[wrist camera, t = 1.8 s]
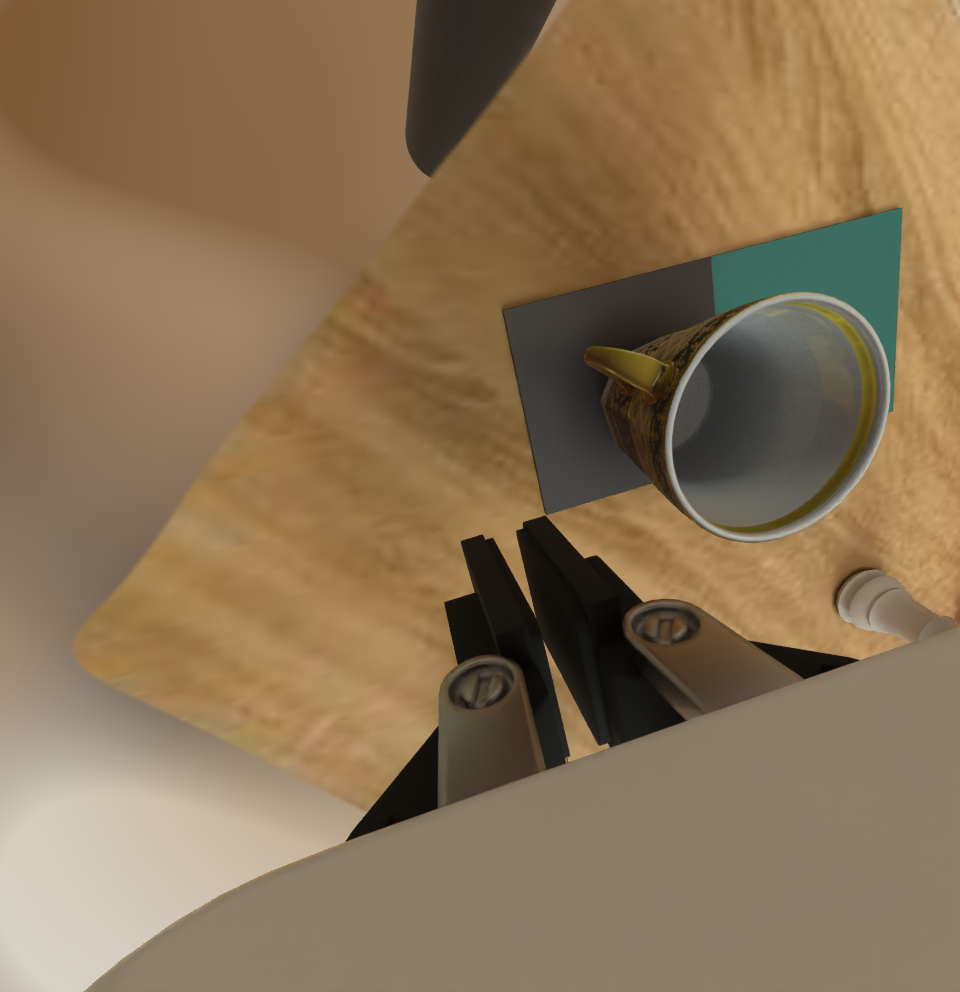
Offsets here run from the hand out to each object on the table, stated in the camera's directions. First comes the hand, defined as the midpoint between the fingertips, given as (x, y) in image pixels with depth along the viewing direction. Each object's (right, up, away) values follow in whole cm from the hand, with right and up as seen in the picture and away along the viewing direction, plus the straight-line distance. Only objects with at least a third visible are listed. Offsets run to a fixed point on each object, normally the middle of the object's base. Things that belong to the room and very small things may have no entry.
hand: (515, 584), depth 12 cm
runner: (+13, +10, +18) cm, 24 cm away
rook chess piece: (+27, -5, +25) cm, 38 cm away
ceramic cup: (+8, +8, +17) cm, 21 cm away
